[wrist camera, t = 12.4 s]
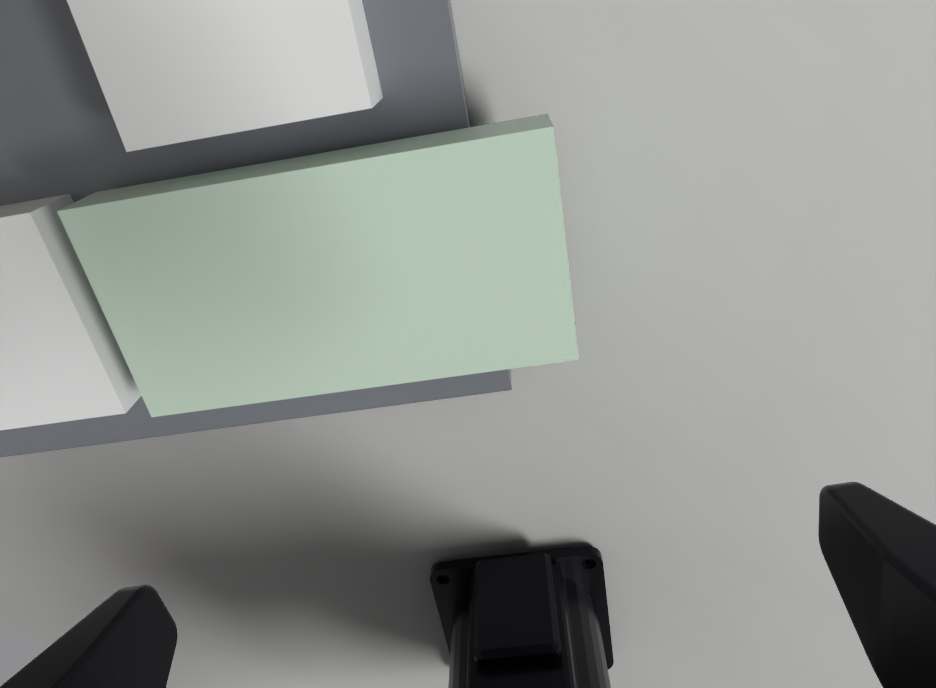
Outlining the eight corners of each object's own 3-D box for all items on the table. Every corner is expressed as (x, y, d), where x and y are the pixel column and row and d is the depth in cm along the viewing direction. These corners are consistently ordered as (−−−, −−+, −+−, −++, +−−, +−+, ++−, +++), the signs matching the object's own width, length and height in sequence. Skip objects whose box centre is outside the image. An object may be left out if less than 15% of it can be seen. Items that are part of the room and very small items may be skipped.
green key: (567, 312, 20) (578, 359, 18) (193, 365, 22) (151, 417, 19) (543, 106, 18) (553, 126, 15) (117, 180, 19) (57, 210, 16)
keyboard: (510, 370, 22) (513, 422, 19) (3, 438, 24) (-58, 495, 21) (351, -608, 12) (313, -773, 10) (-472, -369, 14) (-694, -454, 12)
